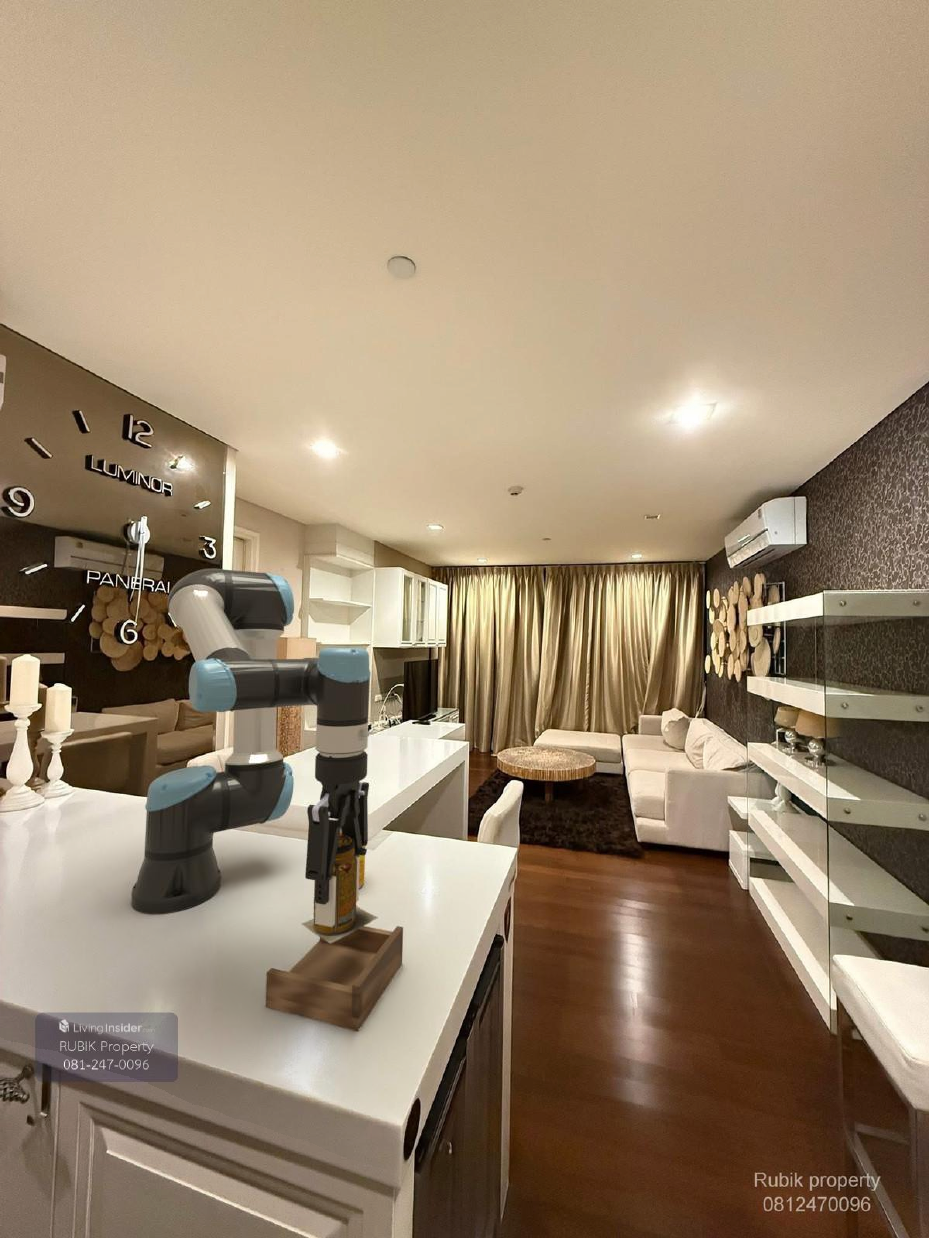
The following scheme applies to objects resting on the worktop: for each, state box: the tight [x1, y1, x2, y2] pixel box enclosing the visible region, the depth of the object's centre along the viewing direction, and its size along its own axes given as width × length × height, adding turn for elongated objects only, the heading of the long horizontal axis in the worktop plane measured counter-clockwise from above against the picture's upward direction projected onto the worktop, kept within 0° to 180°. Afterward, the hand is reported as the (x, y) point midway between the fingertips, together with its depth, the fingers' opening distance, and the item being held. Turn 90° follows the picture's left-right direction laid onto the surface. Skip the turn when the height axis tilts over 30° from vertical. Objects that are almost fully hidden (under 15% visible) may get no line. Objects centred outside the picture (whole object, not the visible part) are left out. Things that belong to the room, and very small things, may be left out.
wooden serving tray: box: [264, 925, 404, 1032], centre depth 72 cm, size 14×14×6 cm
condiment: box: [301, 835, 379, 944], centre depth 74 cm, size 7×8×12 cm
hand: (337, 911), depth 73 cm, fingers closed on condiment, 6 cm apart
